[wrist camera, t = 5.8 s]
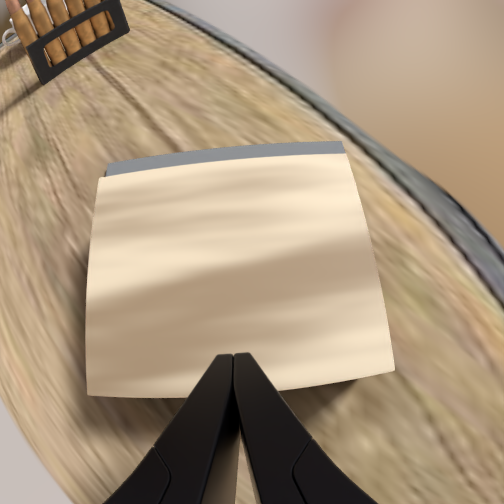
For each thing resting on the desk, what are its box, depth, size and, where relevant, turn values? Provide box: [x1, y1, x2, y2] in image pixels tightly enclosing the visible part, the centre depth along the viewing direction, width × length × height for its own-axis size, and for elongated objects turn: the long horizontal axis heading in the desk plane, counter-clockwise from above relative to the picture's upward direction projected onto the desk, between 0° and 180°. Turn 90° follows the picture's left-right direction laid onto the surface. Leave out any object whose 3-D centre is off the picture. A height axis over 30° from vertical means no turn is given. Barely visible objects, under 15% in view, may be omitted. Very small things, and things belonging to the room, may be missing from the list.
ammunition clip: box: [5, 0, 130, 85], centre depth 20 cm, size 11×2×12 cm, turn 133°
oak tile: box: [85, 154, 395, 398], centre depth 14 cm, size 4×12×10 cm
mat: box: [106, 141, 346, 177], centre depth 17 cm, size 13×15×1 cm
